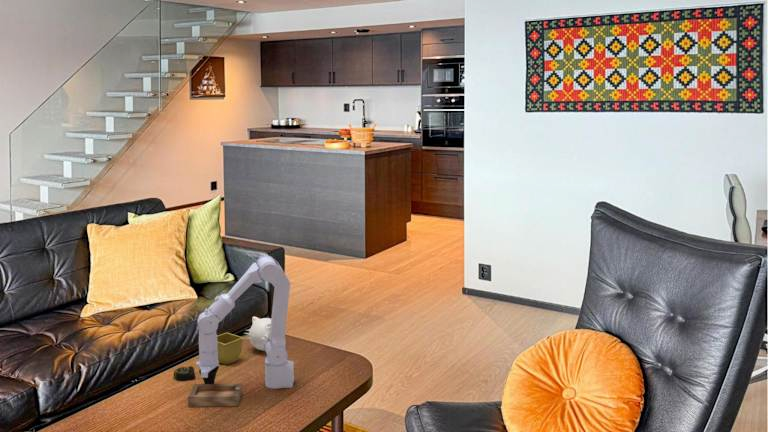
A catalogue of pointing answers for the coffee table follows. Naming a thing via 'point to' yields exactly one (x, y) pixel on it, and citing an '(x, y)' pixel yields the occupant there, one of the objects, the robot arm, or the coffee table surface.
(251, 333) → the cat head
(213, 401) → the wooden tray
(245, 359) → the coffee table surface
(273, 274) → the robot arm
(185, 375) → the tape measure
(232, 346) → the flower pot
